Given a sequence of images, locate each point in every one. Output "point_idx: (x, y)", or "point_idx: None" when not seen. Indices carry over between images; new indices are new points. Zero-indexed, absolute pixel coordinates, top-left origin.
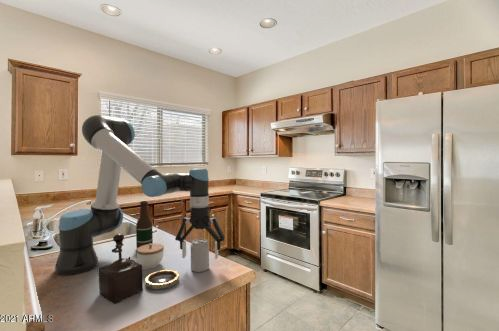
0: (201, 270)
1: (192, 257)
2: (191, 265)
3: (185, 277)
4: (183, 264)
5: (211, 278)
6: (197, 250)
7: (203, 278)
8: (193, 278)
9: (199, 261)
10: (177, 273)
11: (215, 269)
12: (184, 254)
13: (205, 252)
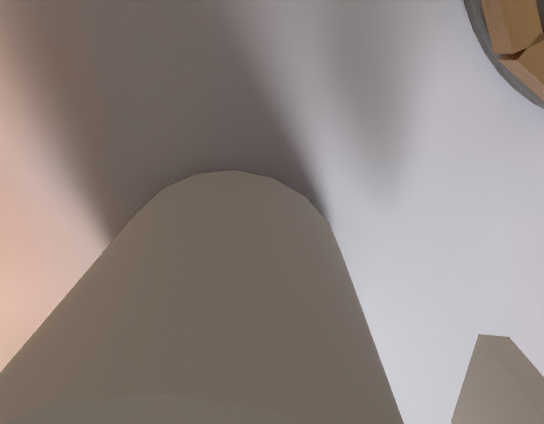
0: (191, 177)
1: (333, 281)
2: (334, 242)
3: (377, 50)
4: (438, 380)
5: (30, 6)
6: (197, 332)
7: (137, 10)
8: (269, 15)
9: (196, 215)
10: (513, 10)
11: (49, 253)
12: (503, 387)
13: (27, 345)
